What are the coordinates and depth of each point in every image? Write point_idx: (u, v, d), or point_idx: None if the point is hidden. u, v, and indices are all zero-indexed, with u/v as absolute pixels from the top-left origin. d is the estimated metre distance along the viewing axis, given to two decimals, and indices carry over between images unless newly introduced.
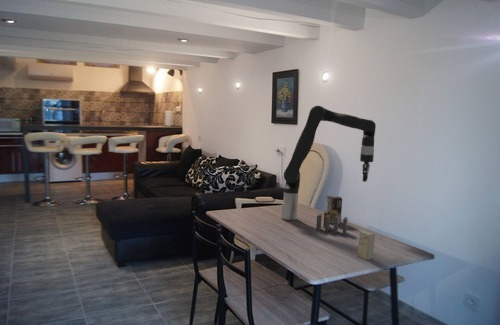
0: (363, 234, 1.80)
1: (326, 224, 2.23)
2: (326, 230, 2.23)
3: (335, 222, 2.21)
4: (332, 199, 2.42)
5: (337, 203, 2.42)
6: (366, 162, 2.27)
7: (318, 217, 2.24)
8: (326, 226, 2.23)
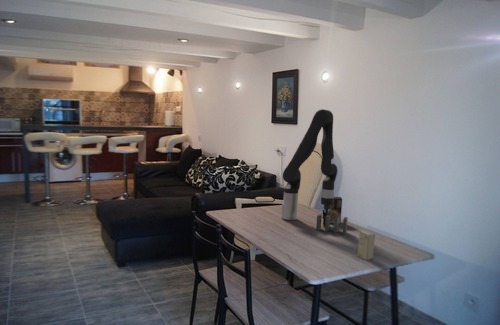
0: (363, 234, 1.80)
1: (326, 224, 2.23)
2: (326, 230, 2.23)
3: (335, 222, 2.21)
4: None
5: (337, 203, 2.42)
6: (326, 205, 2.30)
7: (318, 217, 2.24)
8: (326, 226, 2.23)
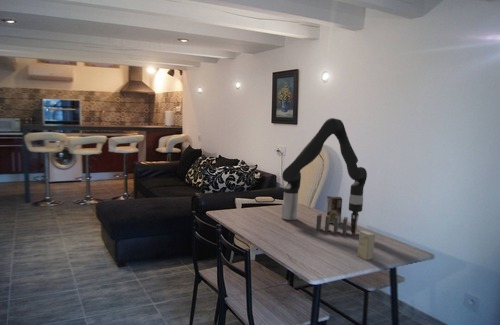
0: (363, 234, 1.80)
1: (326, 224, 2.23)
2: (326, 230, 2.23)
3: (335, 222, 2.21)
4: (332, 199, 2.42)
5: (337, 203, 2.42)
6: (355, 212, 2.15)
7: (318, 217, 2.24)
8: (326, 226, 2.23)
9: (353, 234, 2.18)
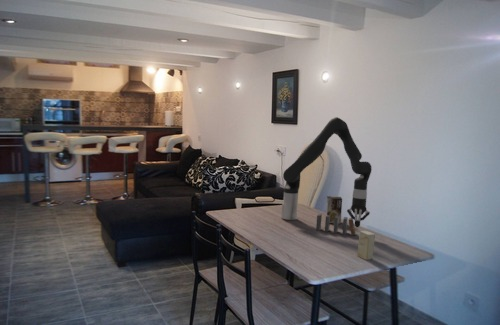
0: (363, 234, 1.80)
1: (326, 224, 2.23)
2: (326, 230, 2.23)
3: (335, 222, 2.21)
4: (332, 199, 2.42)
5: (337, 203, 2.42)
6: (352, 204, 2.19)
7: (318, 217, 2.24)
8: (326, 226, 2.23)
9: (353, 234, 2.18)
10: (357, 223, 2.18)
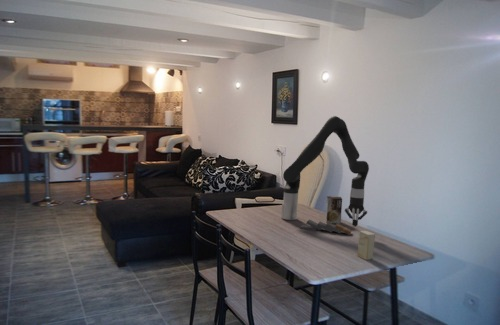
0: (363, 234, 1.80)
1: (314, 226, 2.26)
2: (319, 228, 2.24)
3: (321, 226, 2.24)
4: (332, 199, 2.42)
5: (337, 203, 2.42)
6: None
7: (302, 228, 2.28)
8: (315, 226, 2.25)
9: (349, 232, 2.18)
10: (355, 222, 2.18)
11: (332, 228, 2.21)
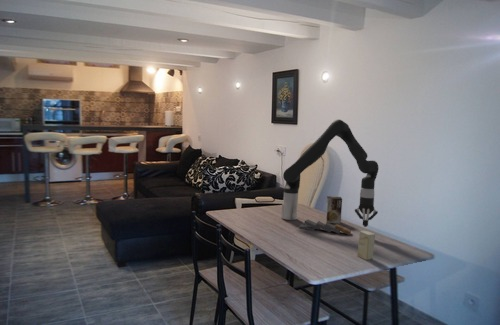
0: (363, 234, 1.80)
1: (311, 225, 2.27)
2: (316, 227, 2.25)
3: (320, 226, 2.24)
4: (332, 199, 2.42)
5: (337, 203, 2.42)
6: None
7: (301, 228, 2.28)
8: (313, 226, 2.26)
9: (349, 233, 2.18)
10: (365, 223, 2.16)
11: (331, 228, 2.21)
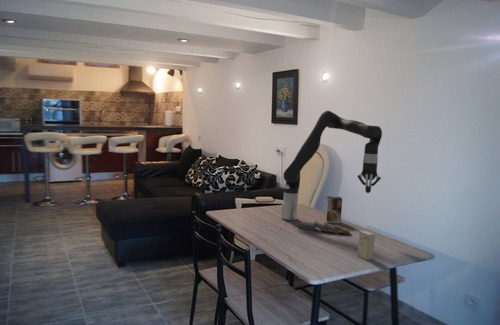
0: (363, 234, 1.80)
1: (306, 226, 2.26)
2: (311, 226, 2.25)
3: (318, 226, 2.22)
4: (332, 199, 2.42)
5: (337, 203, 2.42)
6: None
7: (299, 228, 2.28)
8: (308, 226, 2.26)
9: (348, 232, 2.18)
10: (368, 189, 2.14)
11: (330, 229, 2.20)
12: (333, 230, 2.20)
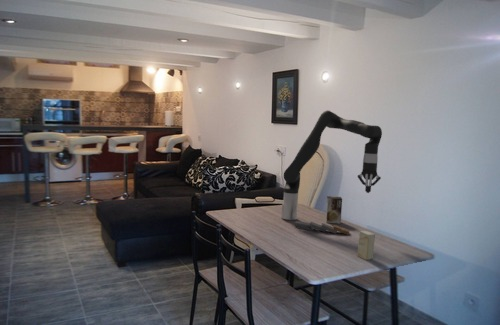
0: (363, 233, 1.80)
1: (302, 225, 2.27)
2: (307, 226, 2.26)
3: (315, 227, 2.22)
4: (332, 199, 2.42)
5: (337, 203, 2.42)
6: (362, 170, 2.15)
7: None
8: (303, 225, 2.27)
9: (347, 232, 2.19)
10: (368, 188, 2.14)
11: (328, 229, 2.20)
12: (331, 230, 2.20)
